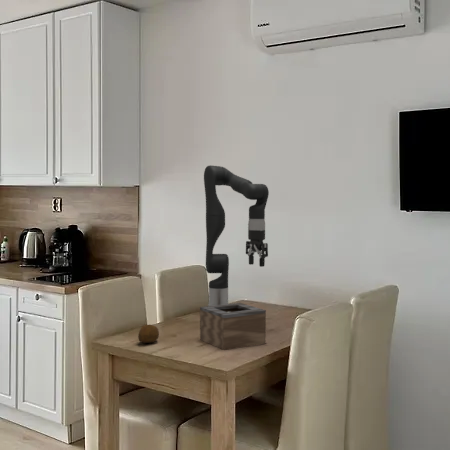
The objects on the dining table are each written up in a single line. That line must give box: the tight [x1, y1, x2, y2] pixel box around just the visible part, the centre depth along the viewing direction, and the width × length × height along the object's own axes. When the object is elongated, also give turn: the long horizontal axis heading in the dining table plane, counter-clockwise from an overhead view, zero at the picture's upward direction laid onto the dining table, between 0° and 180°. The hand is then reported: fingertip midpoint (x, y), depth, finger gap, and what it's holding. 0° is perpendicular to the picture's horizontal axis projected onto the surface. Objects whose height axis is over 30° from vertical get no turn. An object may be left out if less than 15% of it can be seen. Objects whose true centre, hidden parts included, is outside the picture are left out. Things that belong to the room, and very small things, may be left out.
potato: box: [137, 324, 160, 344], centre depth 260 cm, size 8×12×8 cm, turn 170°
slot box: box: [199, 302, 267, 351], centre depth 262 cm, size 20×20×14 cm
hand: (256, 265), depth 278 cm, fingers open, 8 cm apart
